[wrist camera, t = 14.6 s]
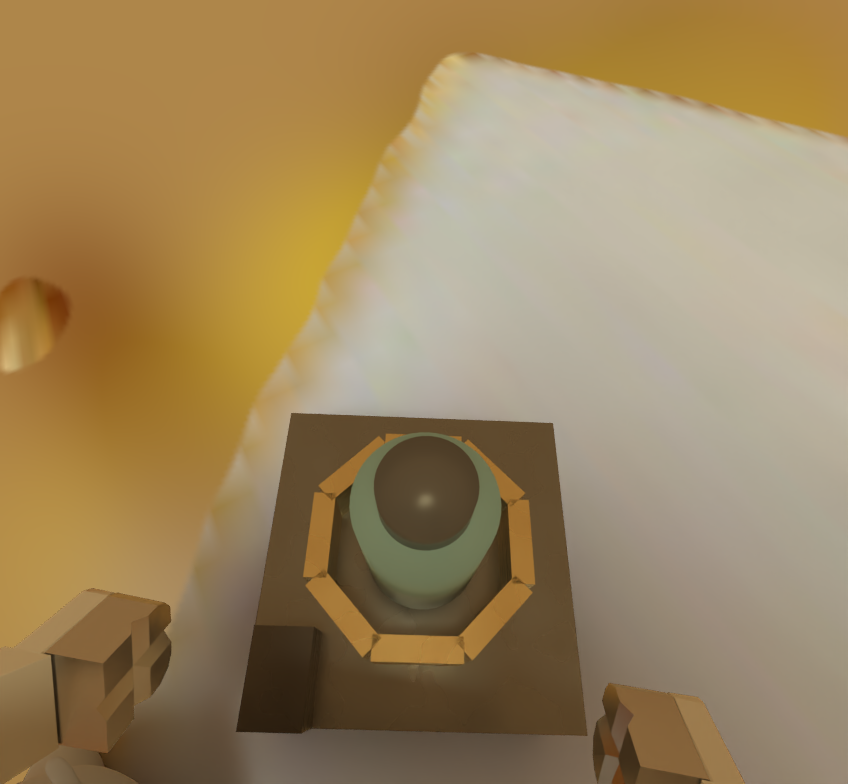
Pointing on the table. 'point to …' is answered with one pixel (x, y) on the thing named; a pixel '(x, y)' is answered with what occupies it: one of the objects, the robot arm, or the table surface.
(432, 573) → the bottle
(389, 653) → the octagon ring base
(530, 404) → the table surface
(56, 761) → the hippopotamus toy
